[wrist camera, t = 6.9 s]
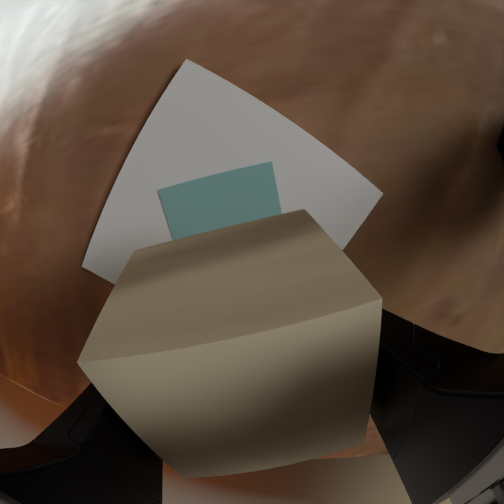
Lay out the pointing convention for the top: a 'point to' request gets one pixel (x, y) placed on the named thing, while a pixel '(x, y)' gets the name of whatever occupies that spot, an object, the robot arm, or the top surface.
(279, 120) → the white square plate
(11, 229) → the top surface
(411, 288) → the top surface
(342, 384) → the maple block
